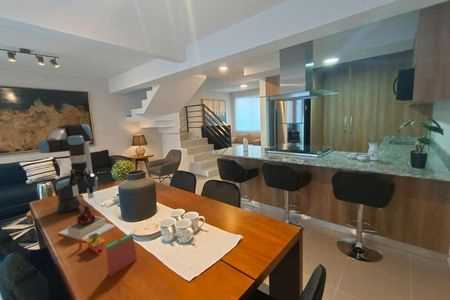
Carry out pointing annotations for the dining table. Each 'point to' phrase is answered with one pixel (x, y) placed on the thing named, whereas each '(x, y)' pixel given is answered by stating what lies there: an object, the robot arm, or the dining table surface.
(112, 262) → the toy building block set
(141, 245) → the dining table surface
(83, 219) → the toy fire truck
